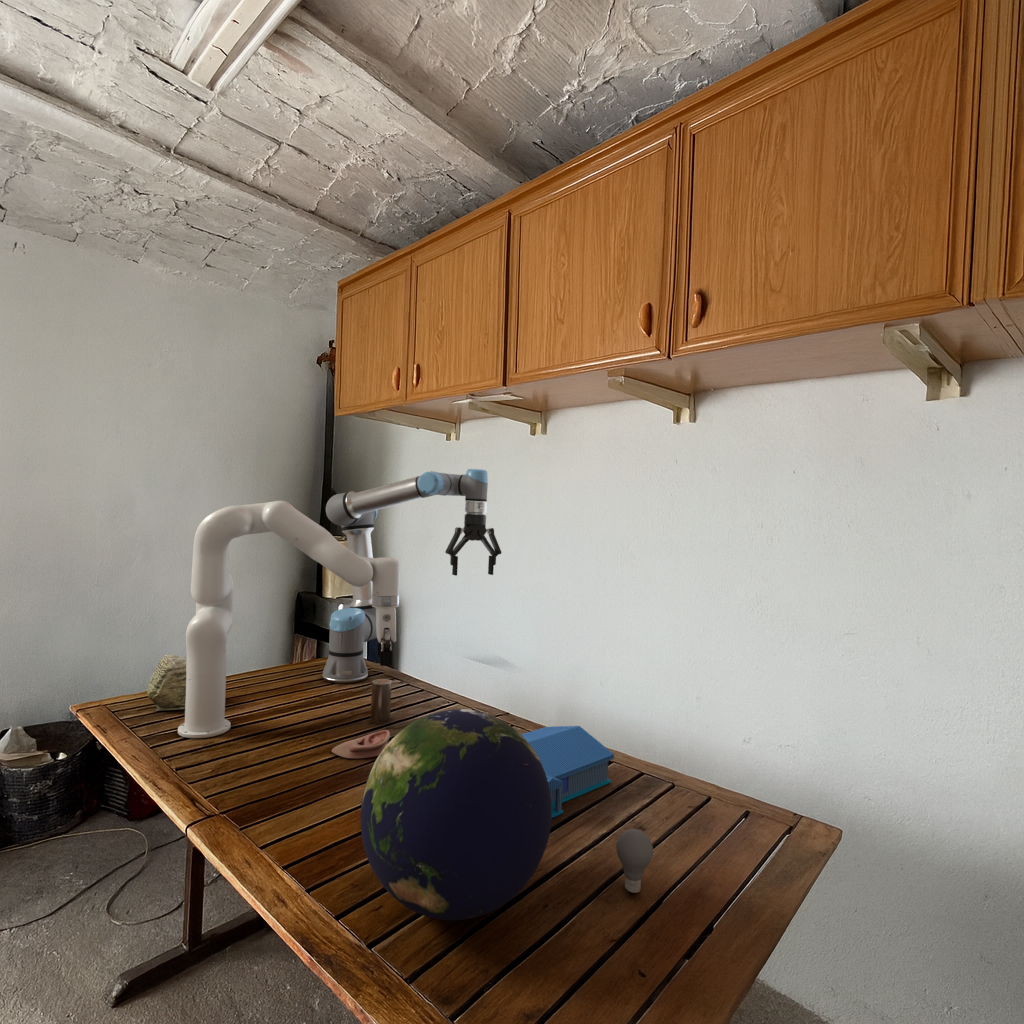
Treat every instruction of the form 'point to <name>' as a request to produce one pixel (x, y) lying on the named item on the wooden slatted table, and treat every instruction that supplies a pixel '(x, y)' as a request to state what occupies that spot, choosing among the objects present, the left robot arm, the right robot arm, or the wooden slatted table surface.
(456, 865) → the globe
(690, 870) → the wooden slatted table surface
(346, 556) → the left robot arm
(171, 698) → the fossil
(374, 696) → the can
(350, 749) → the anatomical model
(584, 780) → the model building
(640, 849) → the light bulb
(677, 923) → the wooden slatted table surface
